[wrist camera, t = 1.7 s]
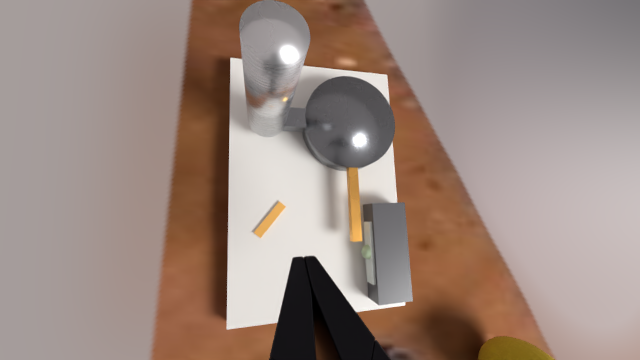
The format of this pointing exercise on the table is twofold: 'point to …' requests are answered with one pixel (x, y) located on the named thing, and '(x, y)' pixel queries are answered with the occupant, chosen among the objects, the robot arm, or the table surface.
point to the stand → (307, 215)
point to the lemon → (510, 350)
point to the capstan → (311, 99)
